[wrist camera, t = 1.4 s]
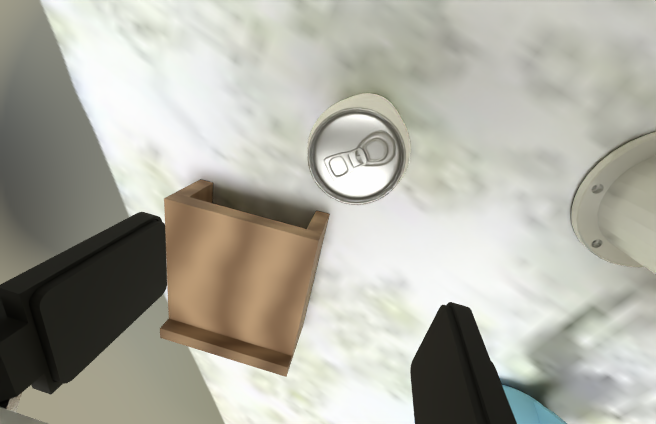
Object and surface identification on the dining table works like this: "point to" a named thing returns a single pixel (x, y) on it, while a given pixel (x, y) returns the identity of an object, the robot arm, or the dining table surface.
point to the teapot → (529, 409)
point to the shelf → (237, 279)
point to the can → (359, 149)
